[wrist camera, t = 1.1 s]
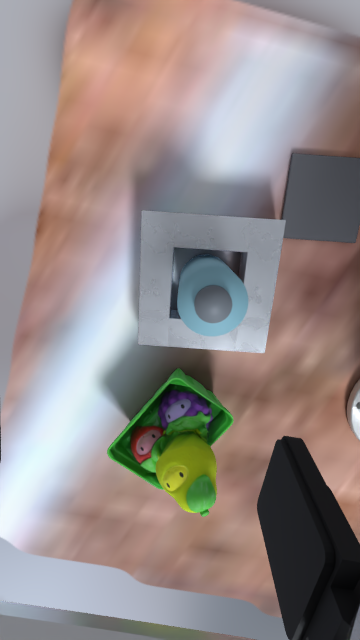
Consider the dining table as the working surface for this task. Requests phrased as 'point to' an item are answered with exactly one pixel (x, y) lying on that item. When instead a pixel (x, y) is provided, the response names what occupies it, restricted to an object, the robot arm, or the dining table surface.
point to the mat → (322, 198)
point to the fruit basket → (176, 442)
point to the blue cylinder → (211, 296)
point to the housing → (213, 234)
